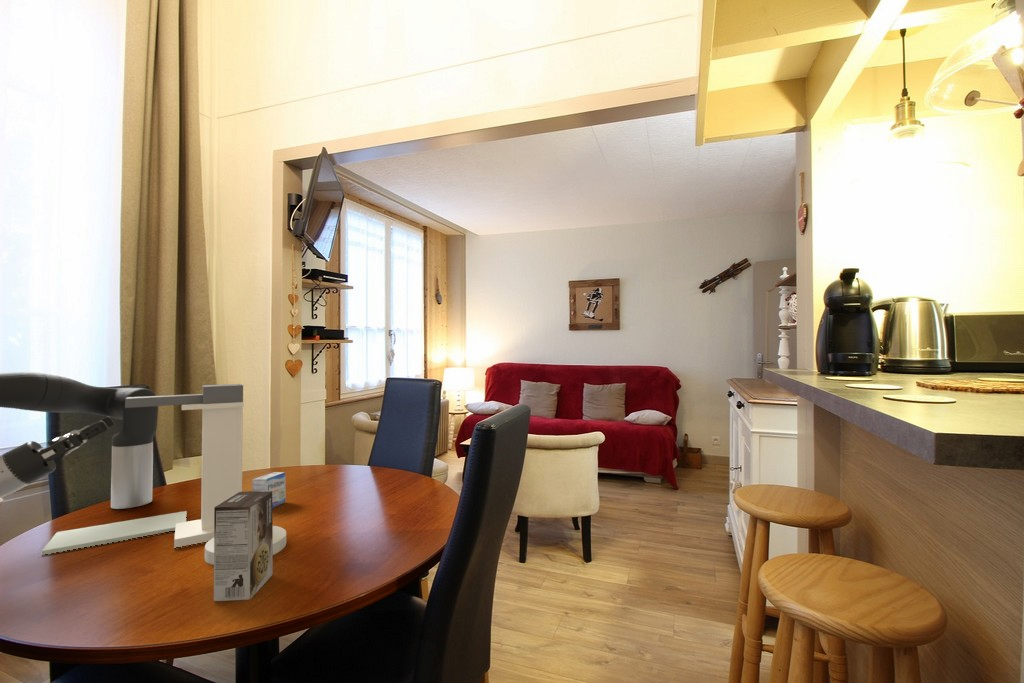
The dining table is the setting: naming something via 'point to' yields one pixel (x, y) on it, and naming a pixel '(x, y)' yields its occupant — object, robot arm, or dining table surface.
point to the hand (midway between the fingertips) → (108, 422)
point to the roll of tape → (278, 544)
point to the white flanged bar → (215, 467)
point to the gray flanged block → (192, 397)
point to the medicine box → (272, 486)
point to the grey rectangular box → (242, 545)
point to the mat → (113, 532)
